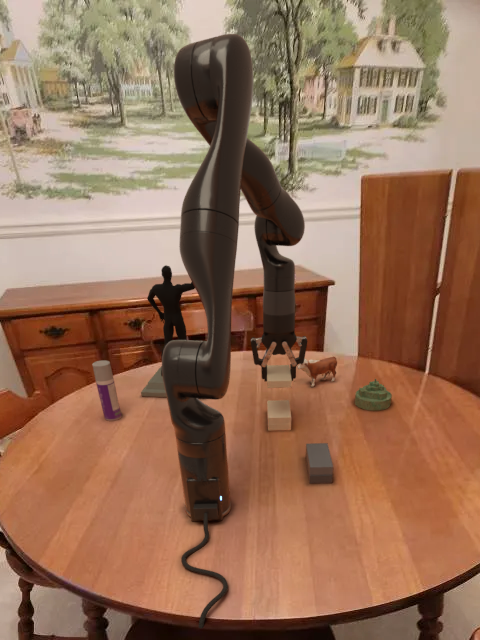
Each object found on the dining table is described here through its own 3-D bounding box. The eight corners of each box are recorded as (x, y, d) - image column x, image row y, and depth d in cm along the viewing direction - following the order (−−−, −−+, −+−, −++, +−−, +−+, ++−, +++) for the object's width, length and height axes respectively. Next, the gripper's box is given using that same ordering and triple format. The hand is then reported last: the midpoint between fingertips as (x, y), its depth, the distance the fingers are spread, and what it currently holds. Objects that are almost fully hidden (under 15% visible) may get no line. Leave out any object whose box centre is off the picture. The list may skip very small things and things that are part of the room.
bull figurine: (295, 384, 151) (295, 358, 146) (332, 377, 155) (334, 350, 150) (302, 389, 148) (302, 362, 143) (339, 381, 152) (342, 355, 147)
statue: (221, 375, 159) (212, 249, 137) (207, 399, 144) (195, 263, 122) (160, 373, 162) (142, 250, 139) (141, 396, 147) (117, 263, 125)
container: (100, 419, 135) (87, 364, 126) (112, 412, 139) (100, 359, 129) (114, 422, 134) (101, 367, 124) (125, 415, 137) (114, 361, 127)
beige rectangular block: (291, 387, 120) (291, 380, 119) (267, 388, 120) (267, 381, 119) (289, 371, 129) (289, 364, 128) (266, 372, 129) (266, 365, 128)
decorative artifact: (368, 413, 134) (397, 406, 137) (371, 388, 129) (401, 381, 133) (347, 400, 141) (376, 393, 144) (350, 376, 136) (379, 370, 140)
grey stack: (332, 483, 107) (333, 467, 104) (309, 483, 107) (310, 467, 104) (326, 458, 115) (327, 442, 113) (305, 458, 116) (305, 443, 113)
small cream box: (291, 430, 127) (291, 417, 125) (268, 430, 127) (267, 417, 125) (288, 412, 136) (289, 399, 134) (267, 412, 136) (267, 400, 134)
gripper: (248, 314, 111) (250, 386, 122) (311, 313, 111) (308, 385, 122) (248, 306, 117) (250, 375, 128) (308, 304, 117) (305, 374, 127)
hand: (278, 379), depth 124 cm, fingers closed on beige rectangular block, 6 cm apart
